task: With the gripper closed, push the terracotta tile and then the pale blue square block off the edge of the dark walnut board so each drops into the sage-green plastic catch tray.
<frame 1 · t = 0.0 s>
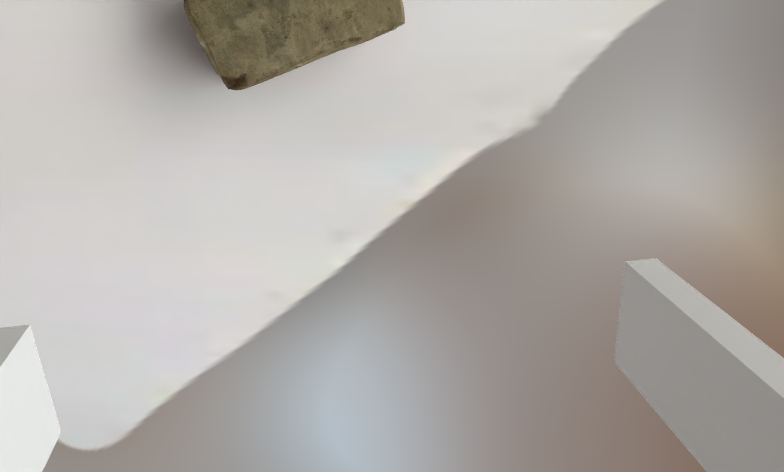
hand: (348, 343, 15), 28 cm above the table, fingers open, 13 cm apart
stone block: (298, 2, 38), on the table
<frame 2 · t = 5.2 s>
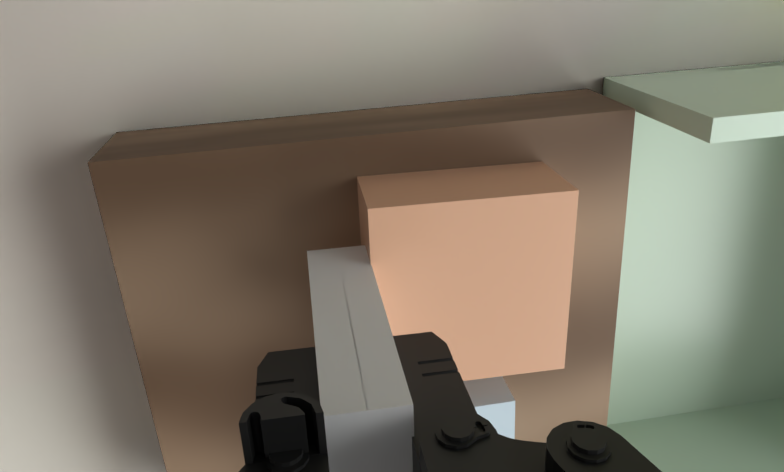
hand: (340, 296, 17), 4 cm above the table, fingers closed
board: (377, 302, 22), on the table
tile terracotta: (451, 254, 18), point 3 cm above the table, touching gripper
pale blue square block: (411, 430, 20), point 3 cm above the table, touching board
catch tray: (710, 259, 23), on the table
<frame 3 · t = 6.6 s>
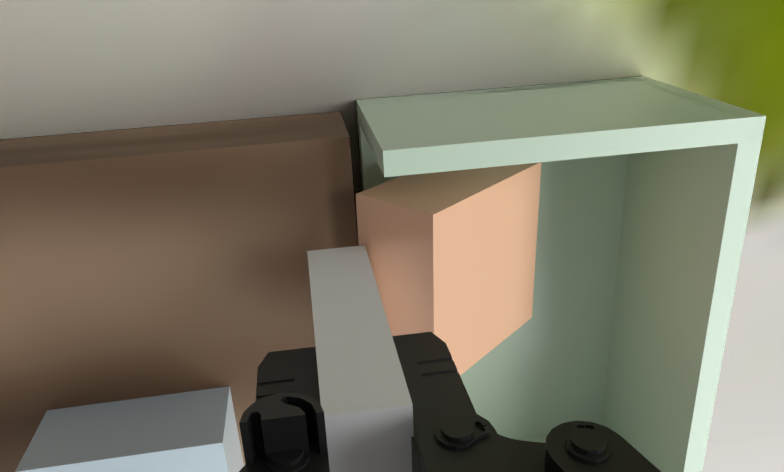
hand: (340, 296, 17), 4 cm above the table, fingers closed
board: (139, 330, 21), on the table
tile terracotta: (419, 251, 19), point 2 cm above the table, tilted 41°, touching gripper
pale blue square block: (156, 466, 19), point 3 cm above the table, touching board
catch tray: (500, 287, 22), on the table
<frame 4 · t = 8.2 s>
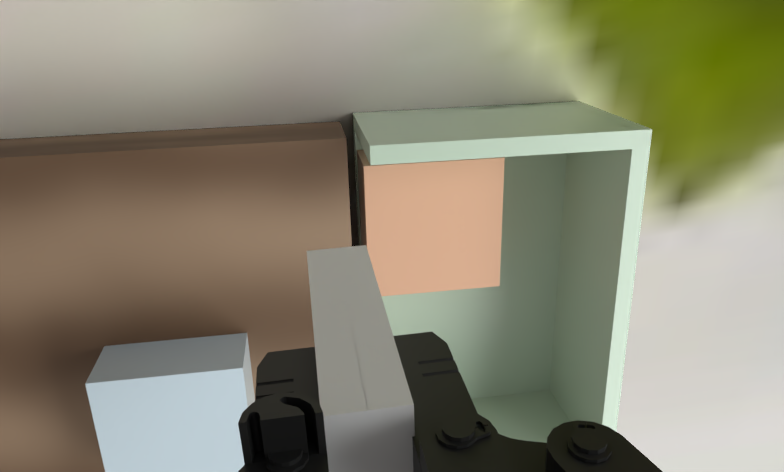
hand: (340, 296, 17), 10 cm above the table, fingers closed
board: (173, 292, 26), on the table
tile terracotta: (422, 208, 26), point 1 cm above the table, touching catch tray
pale blue square block: (186, 397, 24), point 3 cm above the table, touching board
catch tray: (465, 267, 28), on the table
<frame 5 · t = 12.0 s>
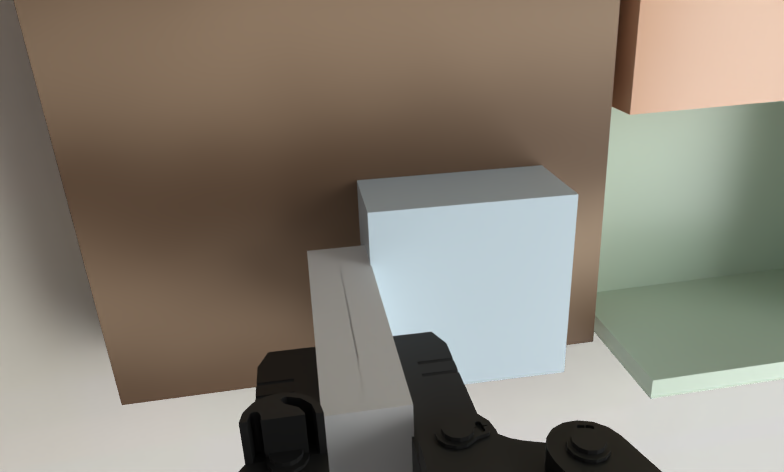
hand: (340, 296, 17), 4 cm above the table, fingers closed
board: (340, 131, 19), on the table
tile terracotta: (679, 4, 19), point 1 cm above the table, touching catch tray
pale blue square block: (450, 258, 18), point 3 cm above the table, touching gripper
catch tray: (714, 97, 21), on the table
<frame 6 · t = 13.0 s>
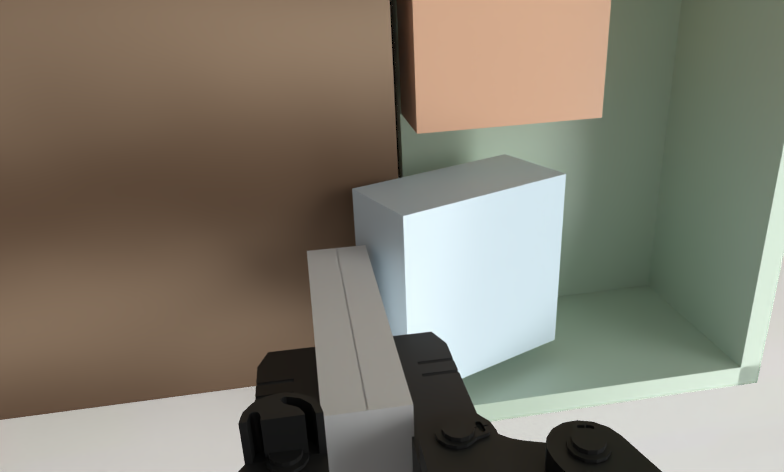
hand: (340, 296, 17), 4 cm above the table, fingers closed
board: (139, 148, 19), on the table
tile terracotta: (485, 17, 18), point 1 cm above the table, touching catch tray
pale blue square block: (434, 254, 19), point 3 cm above the table, tilted 23°, touching board, gripper
catch tray: (540, 113, 20), on the table
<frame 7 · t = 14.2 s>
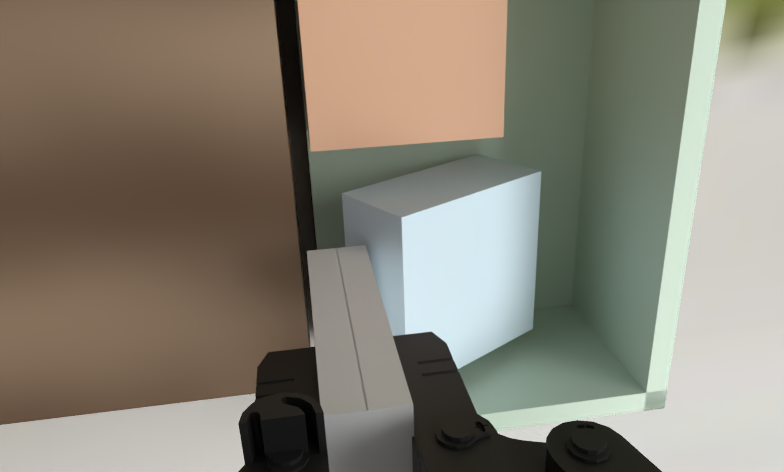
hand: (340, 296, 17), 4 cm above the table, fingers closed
board: (39, 161, 18), on the table
tile terracotta: (391, 33, 18), point 1 cm above the table, touching catch tray
pale blue square block: (417, 253, 19), point 2 cm above the table, tilted 30°, touching catch tray, gripper
catch tray: (455, 130, 20), on the table
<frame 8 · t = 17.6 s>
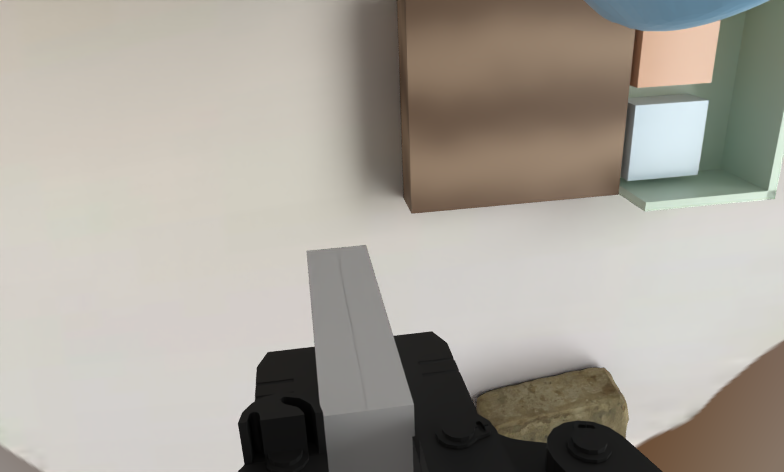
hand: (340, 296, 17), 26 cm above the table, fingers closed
board: (505, 95, 43), on the table
tile terracotta: (659, 40, 42), point 1 cm above the table, touching catch tray
pale blue square block: (648, 132, 45), point 1 cm above the table, touching catch tray
stone block: (538, 401, 53), on the table
catch tray: (676, 83, 44), on the table
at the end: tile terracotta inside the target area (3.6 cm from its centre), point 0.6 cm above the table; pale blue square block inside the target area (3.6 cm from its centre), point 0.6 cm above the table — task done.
